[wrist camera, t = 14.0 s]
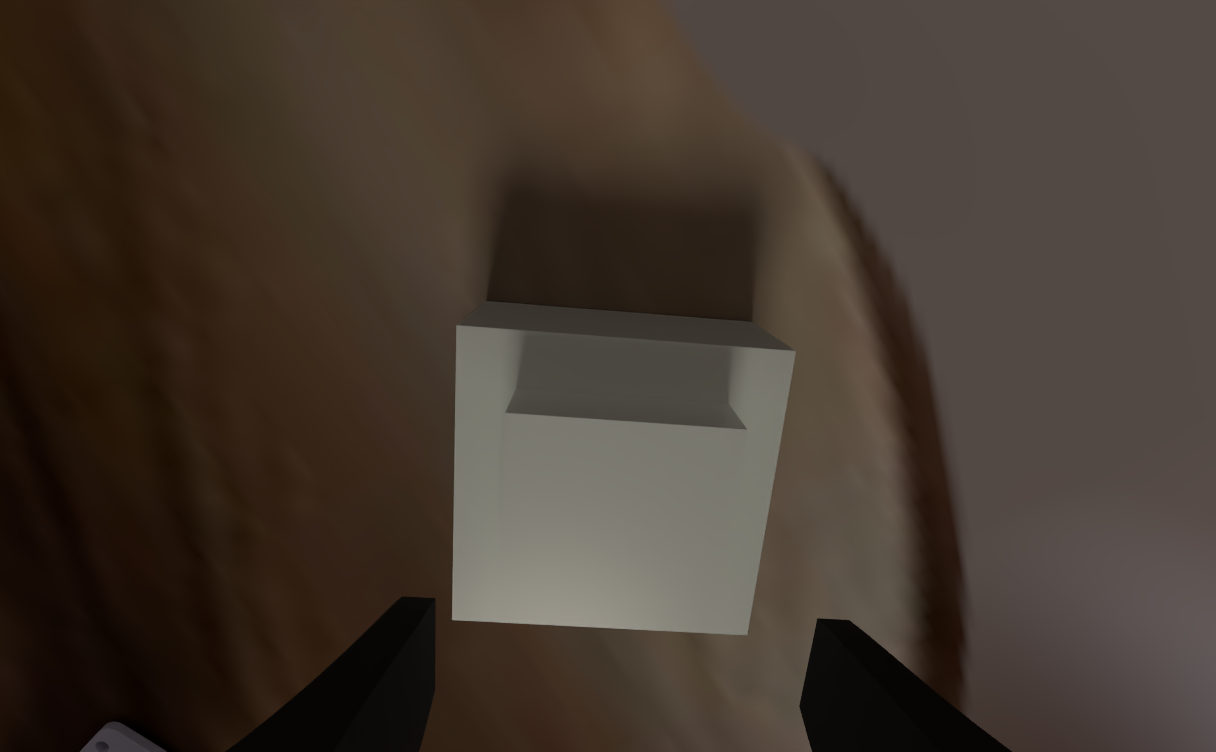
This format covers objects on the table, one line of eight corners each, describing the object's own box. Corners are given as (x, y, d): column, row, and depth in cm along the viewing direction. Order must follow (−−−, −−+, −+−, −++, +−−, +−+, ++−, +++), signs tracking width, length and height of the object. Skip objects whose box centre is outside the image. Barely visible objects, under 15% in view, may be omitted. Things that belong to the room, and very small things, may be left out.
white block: (479, 541, 22) (435, 669, 16) (485, 301, 20) (436, 341, 13) (717, 555, 22) (765, 685, 16) (752, 321, 20) (824, 370, 14)
